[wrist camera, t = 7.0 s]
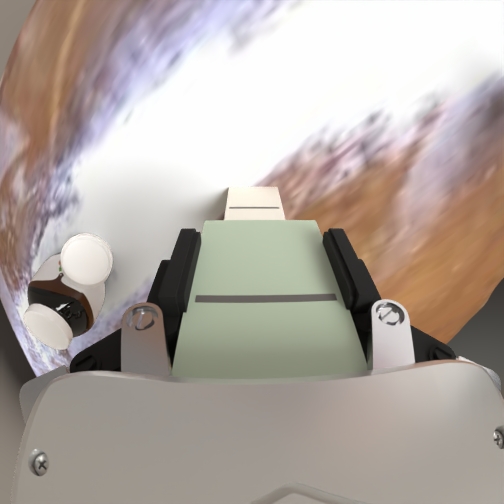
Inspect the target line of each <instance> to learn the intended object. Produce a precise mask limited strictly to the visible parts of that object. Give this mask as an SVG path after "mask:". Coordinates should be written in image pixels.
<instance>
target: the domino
mask: <svg viewBox="0 0 504 504" xmlns="http://www.w3.org/2000/svg"><path fill="white" fill-rule="evenodd" d="M224 220H285V216H284V212H283V208H282V204H281V200H280V195H279V191H278V187H229V191H228V197H227V204H226V211H225V218H224Z"/></svg>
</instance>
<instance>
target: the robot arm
mask: <svg viewBox="0 0 504 504" xmlns="http://www.w3.org/2000/svg"><path fill="white" fill-rule="evenodd" d="M201 243H202V242H201V233H200V232H196V230H195V229H181V231H180V234H179V236H178V239H177V242H176V245H175V248H174V250H173V253H172V256H171V259H170V260H162V261H161V263H160V266H159V269H158V271H157V274H156V277H155V279H154V282H153V285H152V288H151V291H150V293H149V296H148V299H147V302H146V303H139V304H135V305H134V306H132V307H130V308H129V309H128V310H127V311H126V312H125V313H124V315H123V318H122V328H120V329H119V330H117V331H115V332H114V333H112V334H110V335H108V336H107V337H105V338H103V339H102V340H100V341H98V342H97V343H95V344H93V345H91V346H90V347H88V348H86V349H85V350H83V351H81V352H80V353H78V354H77V355H76V356H75V357H74V358H73V359H72V361H71V364H70V366H69V367H66V366H65V365H63V366H61V367H59V368H57V369H54V370H52V371H50V372H48V373H46V374H43V375H41V376H39V377H37V378H35V379H33V380H30V381H28V382H27V383H25V384H24V385H23V387H22V388H21V390H20V395H19V396H20V398H19V399H20V404H21V409H22V414H23V418H24V422H25V426H26V427H25V431H24V434H23V437H22V440H21V445H20V449H19V453H18V458H17V462H16V468H15V473H14V478H13V484H12V493H11V504H504V400H503V398H502V395H501V394H500V387H501V385H500V384H501V383H500V380H499V377H498V375H497V374H496V373H495V372H493V371H492V370H490V369H488V368H485V367H483V366H481V365H478V364H476V363H474V362H472V361H469V360H467V359H465V358H463V357H460V356H459V357H458V358H456V356H455V354H454V352H453V351H452V349H451V348H450V347H448V346H447V345H446V344H444V343H442V342H440V341H438V340H437V339H435V338H433V337H431V336H429V335H428V334H426V333H424V332H422V331H420V330H419V329H417V328H415V327H413V326H411V325H410V322H409V316H408V313H407V311H406V309H405V308H404V307H403V306H402V305H401V304H399V303H397V302H395V301H393V300H388V299H383V300H382V299H381V297H380V295H379V293H378V291H377V288H376V286H375V284H374V282H373V280H372V278H371V276H370V274H369V272H368V270H367V268H366V266H365V264H364V262H363V261H362V260H361V259H358V257H357V255H356V253H355V251H354V249H353V248H352V246H351V244H350V242H349V240H348V238H347V236H346V234H345V232H344V230H343V229H332V228H330V229H329V230H328V232H324V235H323V241H322V243H323V246H324V248H325V251H326V254H327V256H328V259H329V262H330V264H331V267H332V270H333V273H334V275H335V278H336V281H337V284H338V287H339V289H340V292H341V295H342V298H343V301H344V304H345V307H346V310H350V313H351V316H352V319H353V322H354V325H355V328H356V331H357V334H358V337H359V340H360V343H361V346H362V350H363V353H364V356H365V359H366V363H367V371H360V372H352V373H342V374H332V375H321V376H308V377H292V378H267V379H215V378H190V377H174V376H173V374H172V368H173V362H174V357H175V352H176V346H177V341H178V336H179V331H180V326H181V321H182V317H183V312H184V313H187V308H188V303H189V298H190V293H191V288H192V284H193V279H194V274H195V270H196V265H197V261H198V256H199V252H200V248H201Z"/></svg>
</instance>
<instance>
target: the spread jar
mask: <svg viewBox="0 0 504 504" xmlns="http://www.w3.org/2000/svg"><path fill="white" fill-rule="evenodd" d="M112 265H113V256H112V252H111V249H110V248H109V246H108V244H107V243H106V242H105V241H104V240H103V239H102V238H100V237H98V236H96V235H93V234H89V233H82V234H77V235H75V236H73V237H71V238H70V239H69V240H68V241H67V242H66V243H65V244H64V246H63V248H62V251H61V253H58V254H56V255H53V256H51V257H50V258H48V259H47V260H46V261H45V262H44V263H43V265H42V266H41V267H40V268H39V270H38V271H37V272H36V274H35V275H34V276H33V278H32V279H31V281H30V283H29V286H28V293H27V294H28V303H29V307H28V309H27V310H26V312H25V314H24V322H25V325H26V327H27V328H28V330H29V331H30V332H31V333H32V334H33V336H35V337H36V338H37V339H38V340H39V341H41V342H42V343H44V344H45V345H47V346H49V347H51V348H54V349H58V350H64V349H67V348H68V347H69V344H70V342H71V340H72V338H73V337H77V336H80V335H82V334H84V333H86V332H87V331H89V330H90V329H91V327H92V326H93V324H94V323H95V321H96V319H97V317H98V315H99V313H100V310H101V308H102V306H103V303H104V299H105V280H106V279H107V278H108V276H109V274H110V272H111V269H112Z"/></svg>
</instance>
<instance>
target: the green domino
mask: <svg viewBox="0 0 504 504" xmlns="http://www.w3.org/2000/svg"><path fill="white" fill-rule="evenodd" d="M322 241H323V238H322V235H321V233H320V230H319V228H318V225H317V223H316V220H205V222H204V226H203V230H202V234H201V242H202V243H201V248H200V252H199V256H198V261H197V265H196V270H195V274H194V279H193V284H192V288H191V293H190V298H189V303H188V308H187V313H184V312H183V317H182V321H181V326H180V331H179V336H178V341H177V346H176V352H175V357H174V362H173V368H172V374H173V376H174V377H190V378H215V379H267V378H292V377H308V376H321V375H332V374H342V373H352V372H360V371H367V363H366V359H365V356H364V353H363V350H362V346H361V343H360V340H359V337H358V334H357V331H356V328H355V325H354V322H353V319H352V316H351V313H350V310H346V307H345V304H344V301H343V298H342V295H341V292H340V289H339V287H338V284H337V281H336V278H335V275H334V273H333V270H332V267H331V264H330V262H329V259H328V256H327V254H326V251H325V248H324V246H323V243H322Z"/></svg>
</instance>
